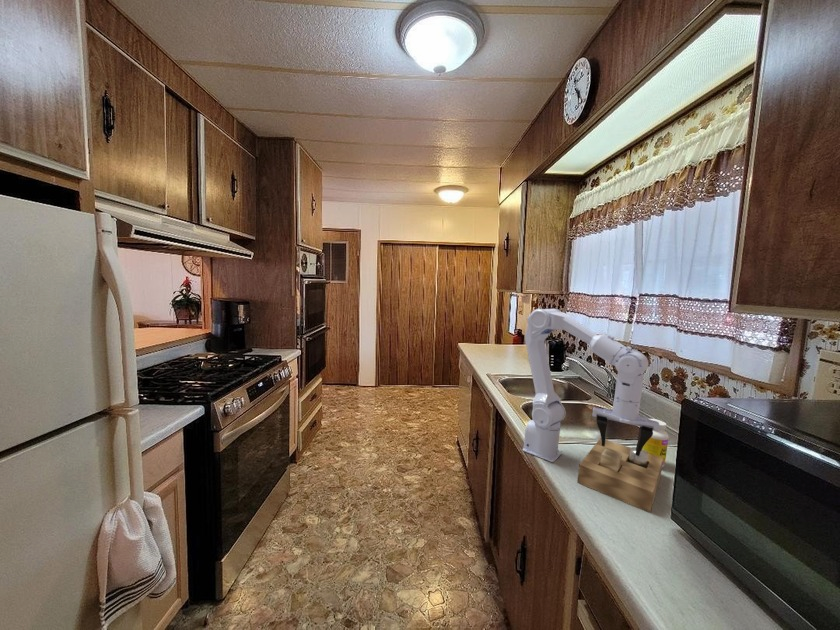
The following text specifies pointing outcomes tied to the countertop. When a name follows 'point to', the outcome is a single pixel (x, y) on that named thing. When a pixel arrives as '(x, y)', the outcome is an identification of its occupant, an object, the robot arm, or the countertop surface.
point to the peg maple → (611, 460)
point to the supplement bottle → (658, 442)
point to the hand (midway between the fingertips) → (619, 449)
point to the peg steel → (638, 457)
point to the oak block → (621, 476)
